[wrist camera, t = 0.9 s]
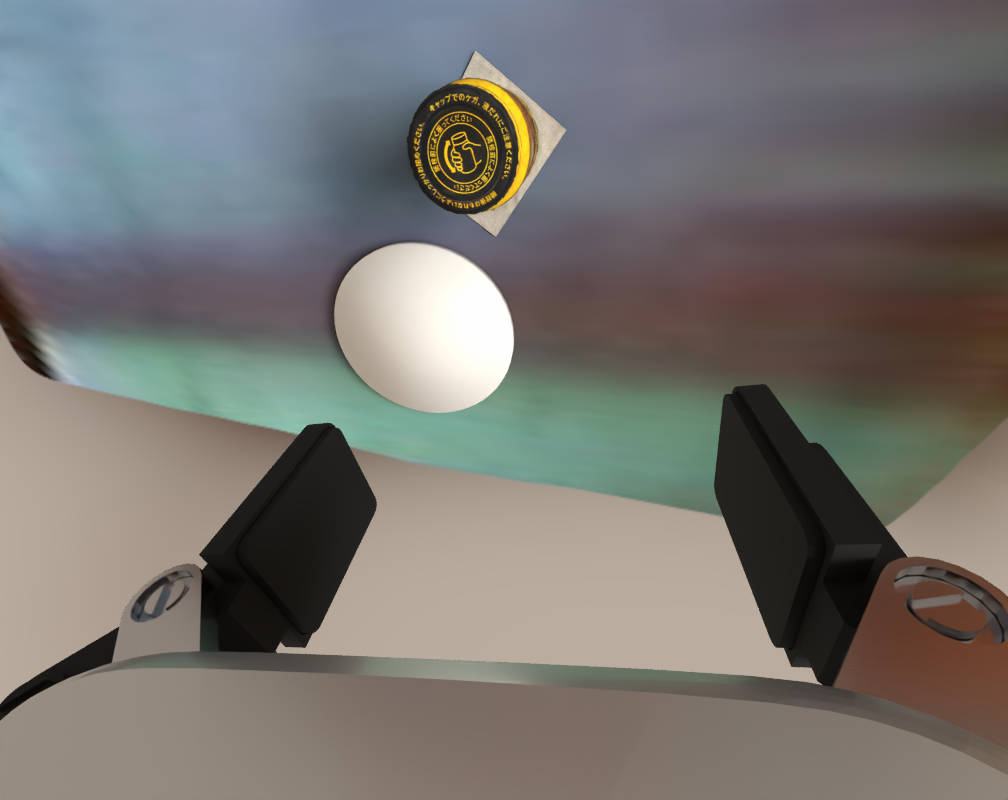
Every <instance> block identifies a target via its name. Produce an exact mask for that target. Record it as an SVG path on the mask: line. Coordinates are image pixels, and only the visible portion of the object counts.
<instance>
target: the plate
mask: <svg viewBox="0 0 1008 800" xmlns="http://www.w3.org/2000/svg"><path fill="white" fill-rule="evenodd" d="M334 319H335V328H336V333H337V337H338V340H339V343H340V346H341V348H342V351H343V353H344V355H345V357H346V358H347V360H348V362H349V363H350V365H351V366H352V368H353V369H354V370H355V372H356V373H357V374H358V375H359V376H360V377H361V378H362V380H363V381H364V382H365V383H366V384H368V385H369V386H370V387H371V388H372V389H373V390H375V391H376V392H378V393H379V394H380V395H382V396H383V397H385V398H387V399H389V400H391V401H392V402H394V403H397V404H399V405H401V406H404V407H407V408H410V409H413V410H418V411H423V412H432V413H445V412H454V411H458V410H462V409H465V408H468V407H471V406H473V405H475V404H477V403H479V402H481V401H482V400H483V399H485V398H486V397H488V396H489V395H490V394H491V393H492V392H493V391H494V390H495V389H496V388H497V387H498V385H499V384H500V383H501V382H502V380H503V378H504V376H505V375H506V373H507V370H508V368H509V365H510V362H511V358H512V353H513V348H514V326H513V321H512V317H511V313H510V310H509V308H508V305H507V302H506V300H505V299H504V297H503V295H502V293H501V291H500V290H499V288H498V287H497V285H496V284H495V283H494V281H493V280H492V279H491V278H490V277H489V276H488V275H487V273H486V272H485V271H484V270H482V269H481V268H480V267H479V266H478V265H477V264H475V263H474V262H473V261H471V260H470V259H468V258H467V257H465V256H464V255H462V254H460V253H458V252H456V251H454V250H452V249H449V248H446V247H443V246H440V245H437V244H432V243H427V242H416V241H410V242H399V243H394V244H390V245H387V246H384V247H382V248H379V249H377V250H375V251H374V252H372V253H370V254H368V255H367V256H365V257H364V258H363V259H361V260H360V261H359V262H358V263H357V264H355V265H354V266H353V267H352V269H351V270H350V271H349V272H348V273H347V275H346V276H345V278H344V280H343V281H342V283H341V285H340V288H339V290H338V293H337V297H336V302H335V311H334Z"/></svg>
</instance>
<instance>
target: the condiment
mask: <svg viewBox="0 0 1008 800" xmlns="http://www.w3.org/2000/svg"><path fill="white" fill-rule="evenodd" d="M565 131H566V129H565V128H563V127H562V126H561V125H560V124H559V123H558V122H557V121H555V120H554V119H553V118H552V117H551V116H550V115H549V114H547V113H546V112H545V111H544V110H543V109H542V108H541V107H539V106H538V105H537V104H536V103H535V102H534V101H533V100H532V99H530V98H529V97H528V96H527V95H526V94H525V93H523V92H522V91H521V90H520V89H519V88H518V87H517V86H515V85H514V84H513V83H512V82H511V81H510V80H509V79H507V78H506V77H505V76H504V75H503V74H502V73H501V72H500V71H498V70H497V69H496V68H495V67H494V66H493V65H491V64H490V63H489V62H488V61H487V60H486V59H485V58H483V57H482V56H481V55H480V54H479V53H478V52H477V51H475V53H474V55H473V57H472V59H471V61H470V63H469V65H468V67H467V69H466V71H465V73H464V75H463V77H462V79H459V80H456V81H453V82H451V83H449V84H447V85H446V86H444V87H442V88H440V89H438V90H436V91H434V92H433V93H431V94H430V95H429V96H428V97H427V98H426V99H425V100H424V101H423V102H422V104H421V105H420V106H419V108H418V109H417V111H416V113H415V115H414V117H413V121H412V123H411V124H410V130H409V136H408V137H407V143H408V146H407V147H408V156H409V160H410V166H411V168H412V170H413V176H414V177H415V179H416V180H417V181H418V183H419V187H420V188H421V189H422V191H423V192H424V193H425V194H426V195H427V196H428V197H429V198H430V199H431V200H432V201H433V202H434V203H436V204H437V205H438V206H440V207H442V208H443V209H445V210H447V211H451V212H453V213H456V214H467V215H468V216H469V217H470V218H472V219H473V220H474V221H476V222H477V223H478V224H480V225H481V226H483V227H484V228H485V229H486V230H487V231H489V232H490V233H491V234H493V235H494V236H495V237H496V236H497V234H498V233H499V231H500V230H501V228H502V227H503V225H504V224H505V222H506V221H507V219H508V218H509V216H510V215H511V213H512V211H513V210H514V208H515V207H516V205H517V204H518V202H519V201H520V199H521V198H522V196H523V195H524V193H525V192H526V190H527V189H528V187H529V186H530V184H531V183H532V181H533V180H534V178H535V177H536V175H537V174H538V172H539V171H540V169H541V168H542V166H543V165H544V163H545V162H546V160H547V158H548V157H549V155H550V154H551V152H552V151H553V149H554V148H555V146H556V145H557V143H558V142H559V140H560V139H561V137H562V136H563V134H564V133H565Z"/></svg>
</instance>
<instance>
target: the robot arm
mask: <svg viewBox="0 0 1008 800" xmlns="http://www.w3.org/2000/svg"><path fill="white" fill-rule="evenodd" d="M714 489H715V495H716V498H717V501H718V504H719V506H720V509H721V512H722V514H723V517H724V519H725V522H726V525H727V527H728V530H729V532H730V535H731V538H732V540H733V543H734V545H735V548H736V551H737V553H738V556H739V559H740V561H741V564H742V566H743V569H744V572H745V574H746V577H747V579H748V582H749V585H750V587H751V590H752V592H753V595H754V597H755V600H756V603H757V606H758V608H759V611H760V613H761V616H762V619H763V621H764V624H765V626H766V629H767V632H768V634H769V637H770V639H771V641H772V643H773V644H774V646H775V647H777V648H784V649H785V652H786V654H787V657H788V659H789V662H790V664H791V666H792V667H809V668H812V670H813V671H814V674H815V677H816V679H817V681H818V682H820V683H821V684H822V685H819V684H813V683H808V682H799V681H791V680H782V679H772V678H763V677H755V676H743V675H727V674H712V673H696V672H682V671H667V670H651V669H631V668H610V667H589V666H568V665H548V664H528V663H507V662H484V661H461V660H439V659H415V658H391V657H390V658H389V657H368V656H342V655H315V654H287V653H286V654H285V653H277V652H276V649H277V647H278V645H279V643H280V642H281V643H282V644H283V645H284V646H285V647H303V648H305V647H306V646H307V644H308V642H309V639H310V637H311V635H312V633H314V632H316V631H317V630H318V629H319V627H320V625H321V623H322V621H323V619H324V617H325V615H326V613H327V611H328V609H329V607H330V605H331V603H332V601H333V598H334V596H335V594H336V592H337V590H338V588H339V586H340V584H341V582H342V580H343V578H344V576H345V574H346V572H347V570H348V567H349V565H350V563H351V561H352V559H353V557H354V555H355V553H356V550H357V548H358V547H359V545H360V543H361V540H362V538H363V536H364V534H365V532H366V530H367V528H368V526H369V524H370V522H371V520H372V518H373V516H374V513H375V511H376V506H377V504H376V503H377V502H376V498H375V496H374V494H373V492H372V490H371V488H370V486H369V484H368V482H367V480H366V479H365V476H364V474H363V473H362V471H361V469H360V467H359V465H358V463H357V461H356V459H355V457H354V455H353V453H352V451H351V449H350V447H349V445H348V443H347V441H346V439H345V437H344V435H343V433H342V432H341V430H340V429H339V428H336V427H335V426H334V425H333V424H331V423H322V424H311V425H307V426H306V427H305V428H304V429H303V430H302V432H301V433H300V434H299V435H298V437H297V438H296V439H295V440H294V441H293V443H292V444H291V445H290V446H289V447H288V448H287V450H286V451H285V452H284V453H283V455H282V456H281V457H280V458H279V459H278V460H277V462H276V463H275V464H274V466H272V468H271V469H270V470H269V471H268V472H267V474H266V475H265V476H264V477H263V478H262V480H261V481H260V482H259V484H257V486H256V487H255V488H254V489H253V491H252V492H251V493H250V494H249V495H248V497H247V498H246V499H245V500H244V501H243V502H242V504H241V505H240V506H239V507H238V509H237V510H236V511H235V512H234V513H233V515H232V516H231V517H230V518H229V519H228V521H227V522H226V523H225V524H224V525H223V527H222V528H221V529H220V530H219V531H218V533H217V534H216V535H215V536H214V537H213V539H212V540H211V541H210V542H209V543H208V545H207V546H206V547H205V548H204V549H203V551H202V552H201V553H200V554H199V555H200V556H201V557H202V558H203V559H204V560H205V561H206V562H207V563H208V564H207V565H206V566H205V568H204V569H203V570H201V569H200V568H199V567H198V566H197V565H195V564H183V565H179V566H175V567H173V568H171V569H168V570H166V571H164V572H163V573H161V574H159V575H158V576H156V577H154V578H153V579H152V580H151V581H149V582H148V583H147V584H145V585H144V586H143V587H142V588H141V589H140V590H139V591H138V592H137V593H136V594H135V595H134V596H133V597H132V599H131V600H130V601H129V603H128V604H127V606H126V607H125V610H124V612H123V615H122V617H121V622H120V627H118V628H116V629H114V630H113V631H111V632H110V633H108V634H106V635H104V636H103V637H101V638H99V639H98V640H96V641H94V642H93V643H91V644H89V645H87V646H86V647H84V648H83V649H81V650H79V651H77V652H76V653H74V654H72V655H71V656H69V657H67V658H66V659H64V660H62V661H60V662H59V663H57V664H55V665H54V666H52V667H50V668H49V669H47V670H45V671H44V672H42V673H40V674H39V675H37V676H36V677H34V678H33V679H31V680H30V681H28V682H26V683H25V684H23V685H21V686H20V687H18V688H17V689H15V691H13V692H12V693H11V694H10V695H9V696H7V697H6V698H5V699H4V701H3V702H2V703H1V704H0V800H1008V596H1007V595H1006V594H1005V593H1004V592H1002V591H1001V590H1000V589H998V588H997V587H996V586H994V585H993V584H991V583H990V582H988V581H987V580H985V579H984V578H982V577H981V576H979V575H976V574H974V573H972V572H970V571H968V570H966V569H964V568H962V567H960V566H957V565H954V564H951V563H948V562H945V561H942V560H939V559H932V558H925V557H907V556H906V554H905V553H904V552H903V550H902V549H901V548H900V546H899V545H898V544H897V542H896V541H895V540H894V539H893V537H892V536H891V535H890V533H889V532H888V531H887V529H886V528H885V527H884V525H883V524H882V523H881V521H880V520H879V519H878V518H877V516H876V515H875V514H874V512H873V511H872V510H871V508H870V507H869V506H868V504H867V503H866V502H865V500H864V499H863V498H862V497H861V495H860V494H859V493H858V491H857V490H856V489H855V487H854V486H853V485H852V483H851V482H850V481H849V479H848V478H847V477H846V476H845V474H844V473H843V472H842V470H841V469H840V468H839V466H838V465H837V464H836V462H835V461H834V460H833V458H832V457H831V456H830V455H829V453H828V452H827V451H826V450H825V449H824V448H823V447H822V446H821V445H820V444H817V443H808V441H807V440H806V438H805V437H804V436H803V434H802V433H801V432H800V430H799V429H798V427H797V426H796V425H795V423H794V422H793V421H792V419H791V418H790V416H789V415H788V414H787V412H786V411H785V410H784V408H783V407H782V405H781V404H780V403H779V401H778V400H777V399H776V397H775V396H774V394H773V393H772V392H771V390H770V389H769V387H768V386H766V385H764V384H761V385H749V386H738V387H735V388H734V389H733V392H732V394H726V395H725V396H724V398H723V406H722V415H721V425H720V434H719V443H718V453H717V462H716V471H715V481H714Z"/></svg>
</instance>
